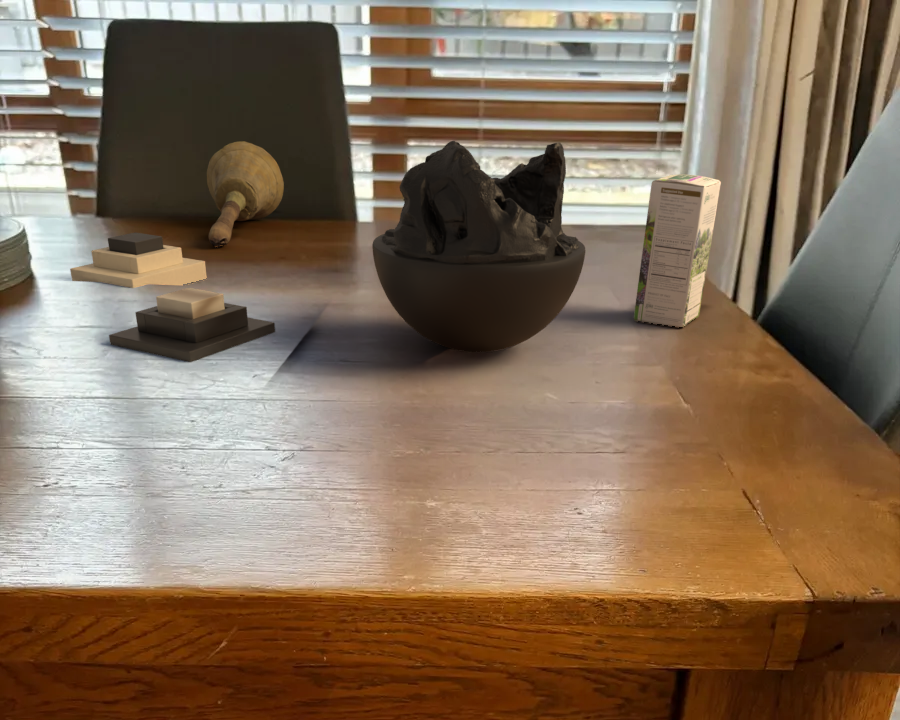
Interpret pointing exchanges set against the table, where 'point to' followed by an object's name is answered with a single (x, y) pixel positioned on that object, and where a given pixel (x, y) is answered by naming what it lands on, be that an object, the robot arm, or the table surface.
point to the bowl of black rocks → (480, 250)
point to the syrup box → (676, 249)
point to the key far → (135, 243)
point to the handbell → (242, 186)
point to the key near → (190, 303)
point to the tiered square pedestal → (191, 333)
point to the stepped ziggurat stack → (140, 268)
